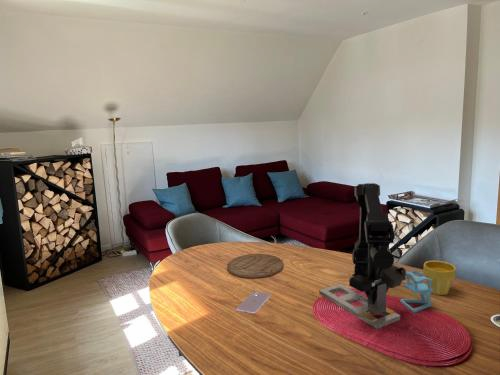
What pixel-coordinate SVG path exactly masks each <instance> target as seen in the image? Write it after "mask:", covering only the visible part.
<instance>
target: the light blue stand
mask: <svg viewBox="0 0 500 375" xmlns="http://www.w3.org/2000/svg"><path fill="white" fill-rule="evenodd" d="M423 274H424V272H420V271H416V270H410V271H409V272H406V277H405V278H406V282H404V283H403V286H404V287H406V288H407V289H408V290H409V291H411V292H412V293H413V294H415V295H416V294H418V295H419V296H420V298H421V299H413V298H411V299H410V298H409V299H408V298H401V299H400V303H401V304H402V305H403V304H404V305H403V306H404V307H406V308H407V310H409V311H410V310H411V311H410V312H412V313H417V312H421V311H422V310H425V309H427V308H430V307H432V302H431V301H432V300H431V298H432V297H431V294H432V293H431V292H433V289H432V288H431V287H430V284H431V282H432V279H429V278H427V277H426V276H423ZM416 275H419V276H416ZM410 279H411V280H412V281H413V282H410ZM427 281H429V283H428V286H427V283H425V282H427ZM408 303H409V304H410V303H412V304H422V305H420V306H418V307H415V308H413V307H412V306H410V305H409V304H408Z"/></svg>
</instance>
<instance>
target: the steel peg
mask: <svg viewBox="0 0 500 375" xmlns="http://www.w3.org/2000/svg"><path fill="white" fill-rule="evenodd" d="M375 287H377V288H378V289H377V290H375V297H374V304H373V305H372V304H370V302H369V300H368V311H370V312H372V313H371V314H373V315H375V316H380V315H382V313H385V312H386V307H387V293H386V288H387V285H386V284H385V283H384V282H383V281H381V280H379V281H376V282H375Z"/></svg>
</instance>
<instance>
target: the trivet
mask: <svg viewBox="0 0 500 375" xmlns="http://www.w3.org/2000/svg"><path fill="white" fill-rule="evenodd" d="M226 267H227V268H226V269H227V272H228V274H230V275H232V276H233V277H236V278H239V279H245V280H259V279H266V278H271V277H274V276H276V275H278V274H280V273H281V272H282V271H283V270H284V267H285V266H284V261H283V260H282V259H281V258H280V257H278V256H276V255H272V254H268V253H249V254H243V255H239V256H236V257H234V258H232V259H231V260H229V261H228V262H227V266H226Z"/></svg>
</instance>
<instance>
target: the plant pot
mask: <svg viewBox="0 0 500 375" xmlns="http://www.w3.org/2000/svg"><path fill="white" fill-rule="evenodd" d="M422 270H423V274H424V275H425V277H427V278H429V279H432V282H431V284H430V287H431V288H432V289H433V292H431V294H434V295H438V296H446V295H448V294H449V291H450V288H451V286H452V281H453V279H455V277H456V272H457V268H456V266H455V265H454V264H451V263H450V262H446V261H442V260H441V261H440V260H427V261H425V262H424V264H423V269H422ZM428 283H429V281H426V285H427V286H428Z"/></svg>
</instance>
